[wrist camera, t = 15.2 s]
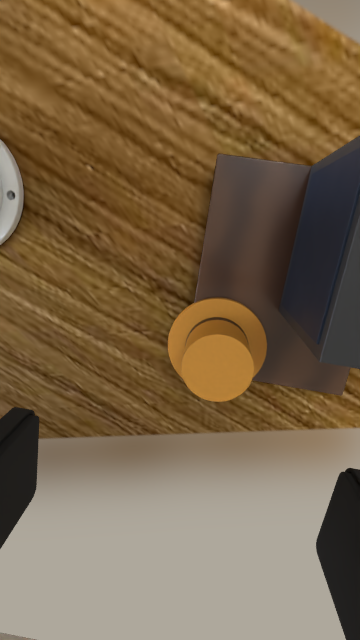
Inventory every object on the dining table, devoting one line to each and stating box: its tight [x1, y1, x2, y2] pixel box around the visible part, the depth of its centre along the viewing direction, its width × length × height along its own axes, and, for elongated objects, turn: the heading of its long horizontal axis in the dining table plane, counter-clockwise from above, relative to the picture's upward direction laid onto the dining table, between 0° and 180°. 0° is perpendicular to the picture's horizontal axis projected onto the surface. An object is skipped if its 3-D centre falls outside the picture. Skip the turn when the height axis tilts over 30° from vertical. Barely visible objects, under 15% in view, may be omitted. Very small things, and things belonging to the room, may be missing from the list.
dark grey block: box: [279, 136, 360, 369], centre depth 22 cm, size 6×12×12 cm, turn 172°
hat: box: [168, 298, 267, 402], centre depth 29 cm, size 9×9×6 cm
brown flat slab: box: [194, 154, 351, 395], centre depth 31 cm, size 15×19×4 cm
